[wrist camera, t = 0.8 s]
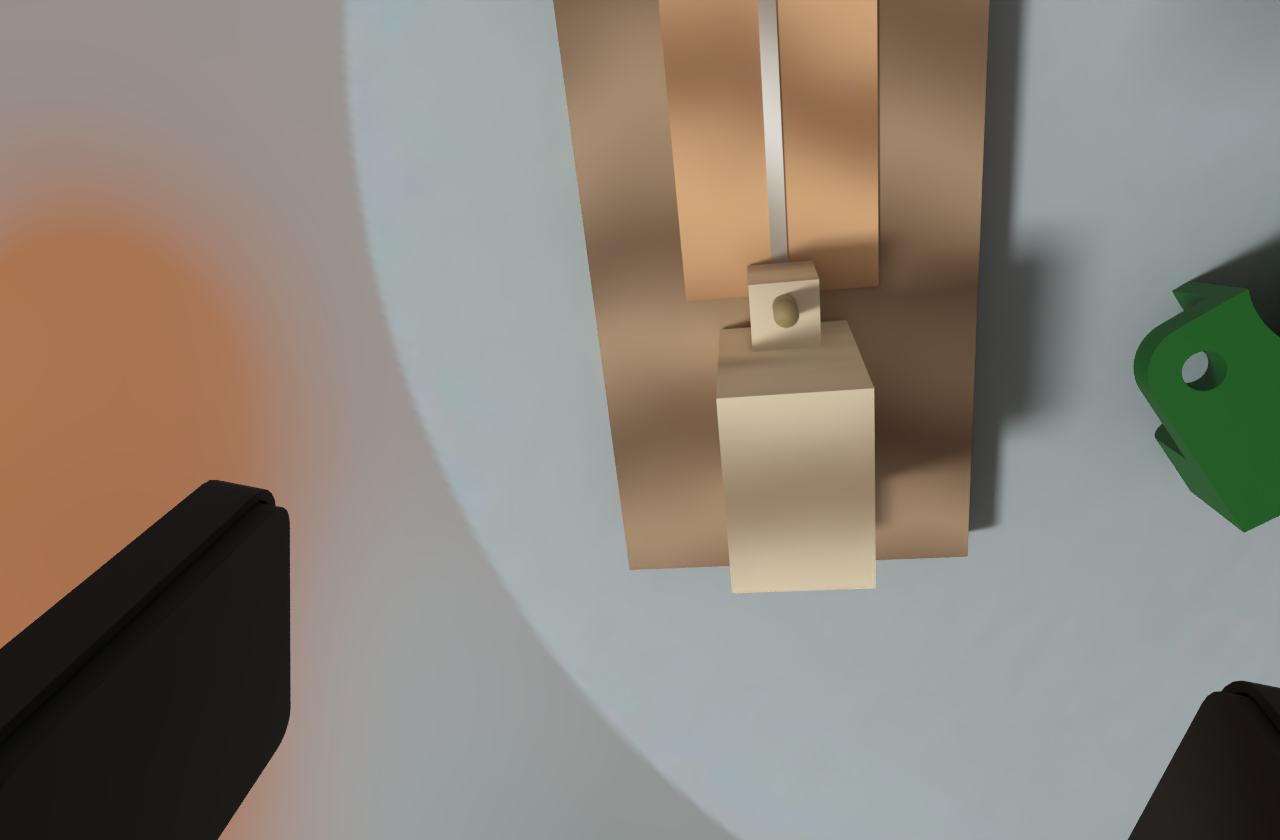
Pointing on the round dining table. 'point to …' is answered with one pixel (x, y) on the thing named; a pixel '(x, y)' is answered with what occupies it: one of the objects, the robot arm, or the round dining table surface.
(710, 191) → the board
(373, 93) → the round dining table surface
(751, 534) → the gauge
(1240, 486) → the clamp
